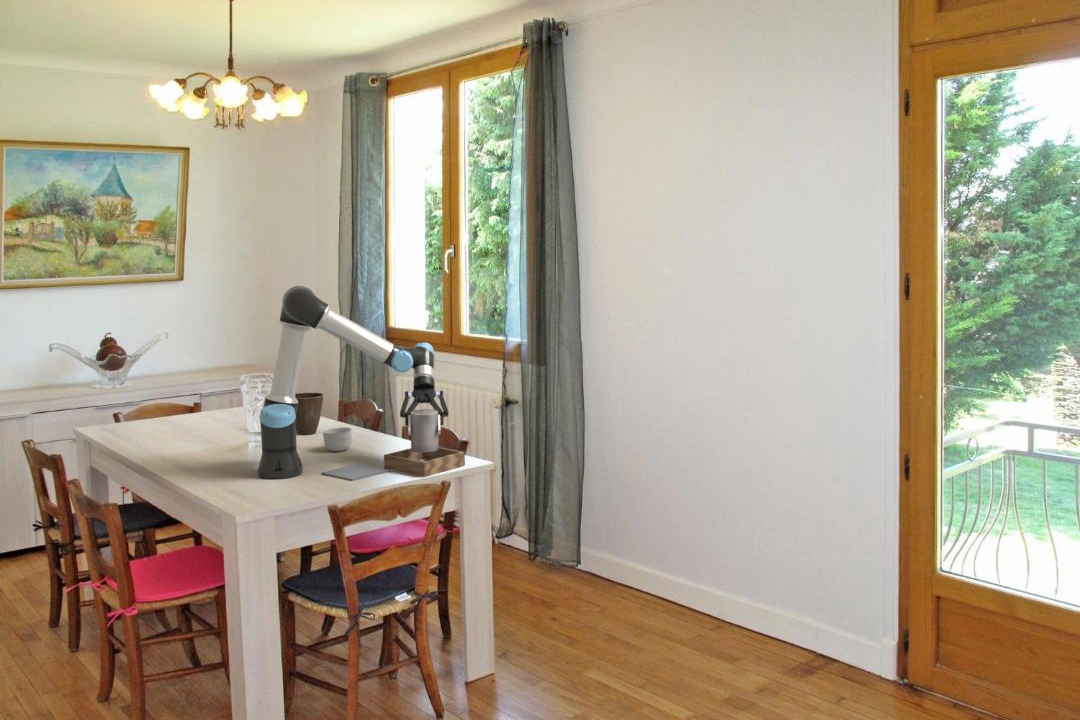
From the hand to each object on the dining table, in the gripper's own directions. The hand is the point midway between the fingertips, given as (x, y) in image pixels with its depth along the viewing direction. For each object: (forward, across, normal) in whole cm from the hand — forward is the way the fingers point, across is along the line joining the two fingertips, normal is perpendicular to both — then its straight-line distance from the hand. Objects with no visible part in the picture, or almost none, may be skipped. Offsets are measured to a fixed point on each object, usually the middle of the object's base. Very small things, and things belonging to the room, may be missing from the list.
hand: (424, 432), depth 346 cm
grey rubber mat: (+10, +24, -9) cm, 28 cm away
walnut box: (+7, 0, -11) cm, 13 cm away
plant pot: (-41, +49, -61) cm, 88 cm away
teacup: (-17, +33, -37) cm, 52 cm away
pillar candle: (+3, 0, -7) cm, 8 cm away
